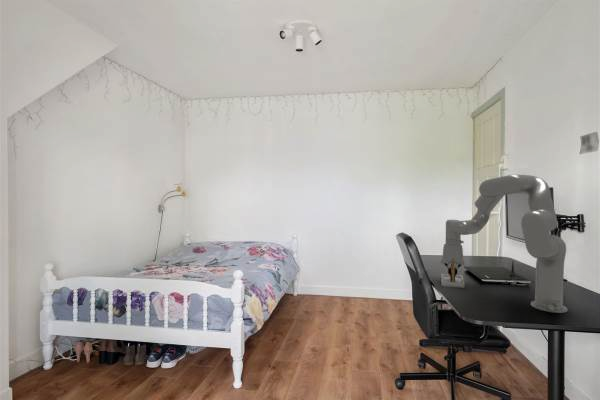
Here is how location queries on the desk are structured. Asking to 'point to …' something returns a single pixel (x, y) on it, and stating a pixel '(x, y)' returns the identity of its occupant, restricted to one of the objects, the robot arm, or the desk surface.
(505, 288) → the desk surface
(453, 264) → the ammunition clip
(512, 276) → the eiffel tower figurine
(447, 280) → the tray
